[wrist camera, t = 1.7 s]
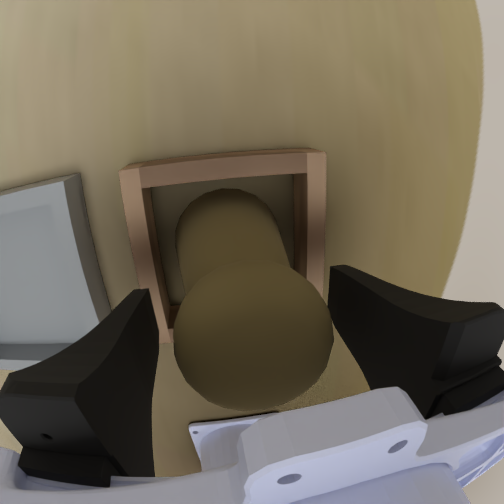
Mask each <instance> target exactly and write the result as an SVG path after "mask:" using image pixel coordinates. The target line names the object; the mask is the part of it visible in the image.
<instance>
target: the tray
mask: <svg viewBox="0 0 504 504" xmlns="http://www.w3.org/2000/svg"><path fill="white" fill-rule="evenodd" d="M111 312H112V311H111V308H110V305H109V301H108V298H107V295H106V291H105V288H104V284H103V280H102V277H101V273H100V269H99V265H98V261H97V257H96V253H95V249H94V244H93V240H92V235H91V231H90V226H89V221H88V216H87V211H86V206H85V200H84V195H83V189H82V183H81V176H80V173H77V174H72V175H67V176H63V177H58V178H53V179H49V180H45V181H40V182H36V183H32V184H28V185H24V186H20V187H16V188H12V189H8V190H5V191H1V192H0V369H4V370H21V369H23V368H26V367H29V366H32V365H34V364H36V363H39V362H41V361H43V360H45V359H47V358H49V357H51V356H53V355H55V354H57V353H59V352H60V351H62V350H63V349H65V348H67V347H68V346H70V345H72V344H73V343H75V342H76V341H78V340H79V339H80V338H82V337H83V336H85V335H86V334H87V333H88V332H90V331H91V330H92V329H93V328H95V327H96V326H97V325H98V324H99V323H100V322H101V321H102V320H103V319H104V318H105V317H107V316H108V315H109V314H110V313H111Z"/></svg>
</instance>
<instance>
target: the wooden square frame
mask: <svg viewBox="0 0 504 504" xmlns="http://www.w3.org/2000/svg"><path fill="white" fill-rule="evenodd" d="M279 174H293V182H294V270H295V271H296V272H298V273H299V274H300V275H302V276H303V277H304V278H305V279H307V280H308V281H309V282H311V283H312V284H313V285H314V286H315V288H316V289H317V290H318V292H319V293H320V295H321V297H322V295H323V278H324V257H325V228H326V152H323V151H319V150H315V149H311V148H294V149H271V150H254V151H240V152H227V153H216V154H205V155H195V156H186V157H178V158H170V159H162V160H154V161H147V162H140V163H134V164H129V165H127V166H126V167H124V168H122V169H121V170H119V178H120V185H121V192H122V199H123V205H124V211H125V217H126V223H127V228H128V234H129V239H130V244H131V249H132V254H133V259H134V264H135V268H136V273H137V277H138V282H139V286H140V289H145V288H149V291H150V295H151V300H152V304H153V308H154V312H155V316H156V320H157V324H158V328H159V344H163V343H173V329H174V322H175V320H176V317H177V314H178V311H179V308H180V305H175V306H170V303H169V298H168V293H167V288H166V283H165V278H164V273H163V267H162V262H161V256H160V250H159V245H158V239H157V232H156V226H155V220H154V213H153V206H152V199H151V191H150V187H156V186H164V185H172V184H180V183H189V182H198V181H207V180H217V179H228V178H239V177H251V176H264V175H279Z"/></svg>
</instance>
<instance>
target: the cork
mask: <svg viewBox="0 0 504 504" xmlns="http://www.w3.org/2000/svg"><path fill="white" fill-rule="evenodd" d="M176 251H177V256H178V261H179V266H180V271H181V276H182V280H183V285H184V290H185V294H186V296H185V298H184V300H183V301H182V303H181V305H180V308H179V311H178V314H177V317H176V320H175V322H174V329H173V343H174V355H175V358H176V361H177V364H178V366H179V368H180V370H181V372H182V374H183V376H184V378H185V380H186V381H187V383H188V384H189V385H190V386H191V387H192V388H193V389H195V390H196V391H197V392H198V393H199V394H200V395H201V396H203V397H204V398H205V399H206V400H207V401H209V402H212V403H214V404H216V405H219V406H221V407H223V408H227V409H234V410H241V411H252V410H265V409H268V408H272V407H275V406H279V405H282V404H285V403H287V402H289V401H291V400H292V399H294V398H296V397H298V396H300V395H302V394H303V393H304V392H305V391H306V390H308V389H309V388H310V387H311V386H312V385H313V384H315V383H316V382H317V380H318V379H319V377H320V376H321V374H322V373H323V371H324V370H325V368H326V366H327V363H328V360H329V356H330V353H331V349H332V346H333V342H334V336H333V327H332V320H331V315H330V311H329V309H328V307H327V305H326V304H325V302H324V300H323V298H322V297H321V295H320V293H319V292H318V290H317V289H316V288H315V286H314V285H313V284H312V283H311V282H309V281H308V280H307V279H305V278H304V277H303V276H302V275H300V274H299V273H298V272H296V271H295V270H293V269H291V268H290V264H289V261H288V258H287V255H286V252H285V248H284V245H283V242H282V239H281V236H280V233H279V229H278V226H277V223H276V220H275V218H274V216H273V214H272V213H271V211H270V209H269V208H268V206H267V205H266V204H265V203H264V202H262V201H261V200H260V199H259V198H258V197H256V196H255V195H253V194H250V193H248V192H245V191H242V190H240V189H218V190H215V191H211V192H208V193H205V194H203V195H202V196H200V197H199V198H197V199H196V200H194V201H193V202H191V203H190V205H189V206H188V207H187V208H186V210H185V211H184V212H183V214H182V215H181V217H180V220H179V222H178V225H177V228H176Z"/></svg>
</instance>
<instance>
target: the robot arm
mask: <svg viewBox="0 0 504 504" xmlns="http://www.w3.org/2000/svg"><path fill="white" fill-rule="evenodd" d="M327 307H328V309H329V311H330V315H331V319H332V321H333V323H334V326H335V328H336V329H337V331H338V333H339V334H340V336H341V338H342V339H343V341H344V342H345V344H346V345H347V347H348V349H349V350H350V352H351V353H352V355H353V357H354V358H355V360H356V361H357V363H358V364H359V366H360V368H361V370H362V372H363V374H364V376H365V378H366V380H367V382H368V385H369V387H370V389H371V391H368V392H364V393H361V394H357V395H353V396H350V397H346V398H342V399H338V400H334V401H330V402H326V403H322V404H317V405H313V406H309V407H304V408H299V409H294V410H289V411H284V412H280V413H270V414H264V415H258V416H251V417H244V418H237V419H229V420H221V421H212V422H202V423H192V424H190V425H189V432H190V434H191V437H192V440H193V443H194V445H195V448H196V451H197V453H198V456H199V459H200V461H201V468H202V472H198V473H194V474H189V475H185V476H180V477H155V472H154V461H153V448H152V395H153V388H154V381H155V374H156V368H157V361H158V354H159V328H158V324H157V320H156V316H155V312H154V308H153V304H152V300H151V295H150V291H149V288H145V289H136V290H133V291H132V292H131V293H130V294H129V295H128V296H127V297H126V298H125V299H124V300H123V301H122V302H121V303H120V304H119V305H118V306H117V307H116V308H115V309H114V310H113V311H112V312H111V313H110V314H109V315H108V316H107V317H105V318H104V319H103V320H102V321H101V322H100V323H99V324H98V325H97V326H96V327H95V328H93V329H92V330H91V331H90V332H88V333H87V334H86V335H85V336H83V337H82V338H80V339H79V340H78V341H76V342H75V343H73V344H72V345H70V346H68V347H67V348H65V349H63V350H62V351H60V352H59V353H57V354H55V355H53V356H51V357H49V358H47V359H45V360H43V361H41V362H39V363H36V364H34V365H32V366H29V367H26V368H23V369H21V370H18V371H15V372H12V373H9V375H8V377H7V379H6V381H5V382H4V384H3V386H2V388H1V390H0V418H1V420H2V421H3V423H4V424H5V426H6V427H7V428H8V429H9V431H10V432H11V433H12V434H13V435H14V437H15V438H16V439H17V440H18V441H19V443H20V444H21V445H22V446H23V449H22V452H21V455H20V454H19V453H17V452H16V451H14V450H11V449H7V448H3V447H0V504H471V503H470V501H469V500H468V498H467V496H466V495H465V493H464V491H463V490H462V488H463V487H465V486H466V485H468V484H469V483H471V482H472V481H473V480H475V479H476V478H478V477H479V476H480V475H482V474H483V473H484V472H485V471H487V470H488V469H490V468H491V467H492V466H493V465H495V464H496V463H497V462H498V461H500V460H501V459H502V458H503V457H504V371H503V370H502V369H501V368H500V367H499V365H501V363H502V361H501V359H500V358H499V357H498V356H497V354H498V351H499V349H500V347H501V344H502V342H503V340H504V309H503V308H502V307H500V306H499V305H498V304H496V303H493V302H464V301H454V300H447V299H442V298H437V297H432V296H427V295H423V294H420V293H416V292H413V291H410V290H407V289H404V288H401V287H398V286H396V285H393V284H390V283H388V282H386V281H383V280H381V279H378V278H376V277H374V276H372V275H369V274H367V273H365V272H363V271H360V270H358V269H355V268H353V267H350V266H347V265H337V266H330V279H329V293H328V306H327Z"/></svg>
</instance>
